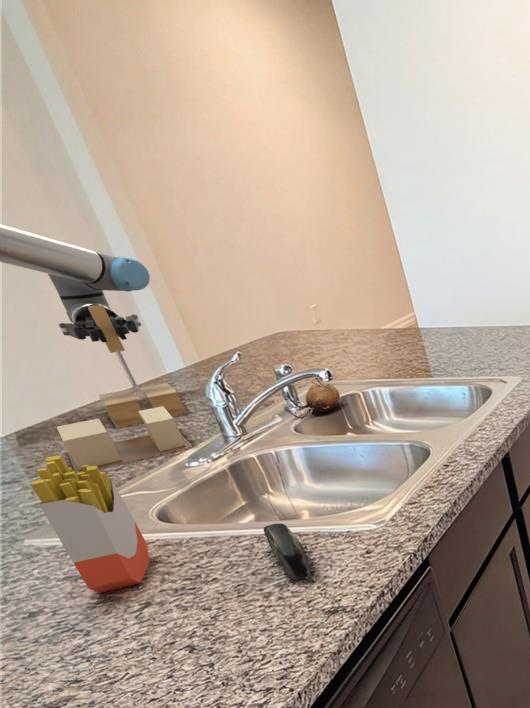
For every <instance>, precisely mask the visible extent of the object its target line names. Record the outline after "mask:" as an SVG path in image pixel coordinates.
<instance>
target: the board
mask: <svg viewBox="0 0 530 708" xmlns="http://www.w3.org/2000/svg"><path fill="white" fill-rule="evenodd" d="M181 436H182V439H183V441H184V443H185V445H186V446H182V447H178V448H173V449H169V450H165V451H160V450H159V449H158V447H157V446H156V445H155V443H154V442H153V440H152V439H151V437H150V435H149V434H148V435H145V436H139V437H135V438H131V439H126V440H121V441H117V442H113V444H114V446H115V448H116V450H117V452H118V454H119V456H120V458H121V460H120V461H116V462H111V463H107V464H103V465H98V466H97V467H98V469H99V470H100V469H103V468H108V467H113V466H118V465H121V464H125V463H129V462H133V461H138V460H142V459H147V458H151V457H154V456H159V455H163V454H167V453H171V452H177V451H180V450H185V449H189V448H192V447H193V446H192V444H191V443H190V442H189V440H187V439H186V438H185V437H184V436H183V435H182V434H181ZM67 456H68V457H69V460H70V463H71V465H72V468H73V470H74V472H79V471H83V470H82V469H81V470H78V468H77V466H76V464H75V462H74V460H73V459H72V457H71V455H70V453H69V452H67Z"/></svg>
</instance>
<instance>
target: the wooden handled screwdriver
mask: <svg viewBox="0 0 530 708" xmlns="http://www.w3.org/2000/svg"><path fill="white" fill-rule="evenodd" d="M88 309H89V311H90V313H91V315H92V317H93V319H94V321H95V323H96V325H97V326H98V327H99V328H100V329H101V330H102V332H103V334H104V336H105V338H106V340H107V342H104V344H105V345H106V348H107V349H108V351H109V353H110V354H113V353H115V354H116V356H117V358H118V361H119V363H120V365H121V366H122V369H123V370H124V373H125V375H126V377H127V379H128V381H129V383H130V385H131V387H132V388H136V387H137V386H138V384H137V382H136V380H135V378H134V376H133V374H132V372H131V370H130V368H129V366H128V364H127V362H126V360H125V358H124V356H123V354H122V352H125V350H126V349H125V347H124V345H123V343H122V341H121V338H120V337H119V336H118V335H117V333H116V331H115V329H114V327H113V325H112V323H111V321H110V319H109V317H108V315H107V313H106V310H105V308H104V306H103V305H97V306H88Z"/></svg>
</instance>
